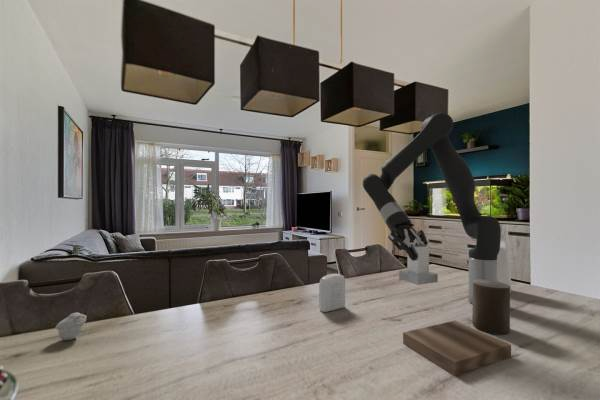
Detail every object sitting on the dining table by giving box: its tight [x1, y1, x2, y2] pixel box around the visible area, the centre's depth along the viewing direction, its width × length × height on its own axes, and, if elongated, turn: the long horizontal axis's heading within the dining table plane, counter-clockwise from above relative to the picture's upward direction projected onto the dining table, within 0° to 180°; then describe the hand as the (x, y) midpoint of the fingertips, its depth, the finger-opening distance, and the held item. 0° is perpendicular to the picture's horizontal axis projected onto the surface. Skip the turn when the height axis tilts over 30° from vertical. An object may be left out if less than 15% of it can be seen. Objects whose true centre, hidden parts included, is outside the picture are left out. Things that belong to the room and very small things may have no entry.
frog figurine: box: [55, 312, 88, 341], centre depth 82 cm, size 6×7×7 cm
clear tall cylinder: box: [497, 230, 512, 293], centre depth 127 cm, size 12×12×26 cm
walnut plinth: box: [402, 320, 512, 376], centre depth 77 cm, size 20×16×3 cm
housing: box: [398, 243, 439, 286], centre depth 93 cm, size 8×8×11 cm
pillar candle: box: [471, 279, 511, 336], centre depth 90 cm, size 10×10×15 cm
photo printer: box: [318, 273, 346, 313], centre depth 105 cm, size 10×4×12 cm, turn 123°
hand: (421, 258), depth 92 cm, fingers closed on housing, 4 cm apart
